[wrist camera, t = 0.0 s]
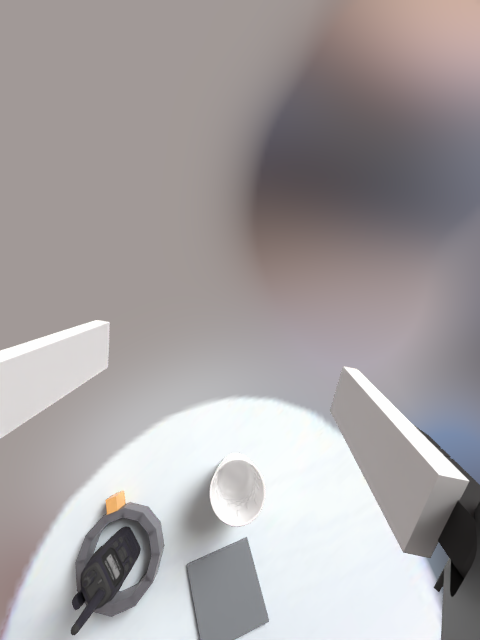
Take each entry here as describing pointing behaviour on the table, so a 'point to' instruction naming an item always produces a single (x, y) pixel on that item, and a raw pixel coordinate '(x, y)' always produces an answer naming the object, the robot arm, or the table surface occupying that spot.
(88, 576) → the two-way radio
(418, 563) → the table surface
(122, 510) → the dock collar
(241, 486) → the white cup
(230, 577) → the mat
